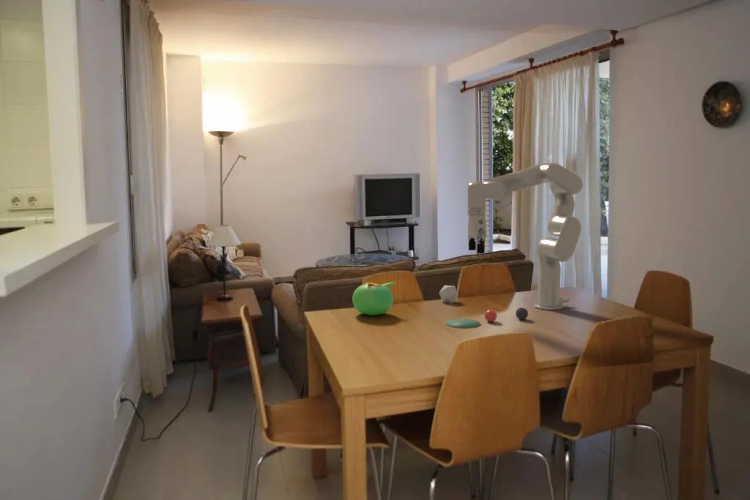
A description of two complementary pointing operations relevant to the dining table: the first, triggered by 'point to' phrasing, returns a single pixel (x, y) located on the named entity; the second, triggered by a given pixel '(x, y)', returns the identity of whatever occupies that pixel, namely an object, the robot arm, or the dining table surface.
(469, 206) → the robot arm
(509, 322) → the dining table surface
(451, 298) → the die
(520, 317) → the black ball
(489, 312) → the red ball
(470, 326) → the green mark
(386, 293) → the green apple
